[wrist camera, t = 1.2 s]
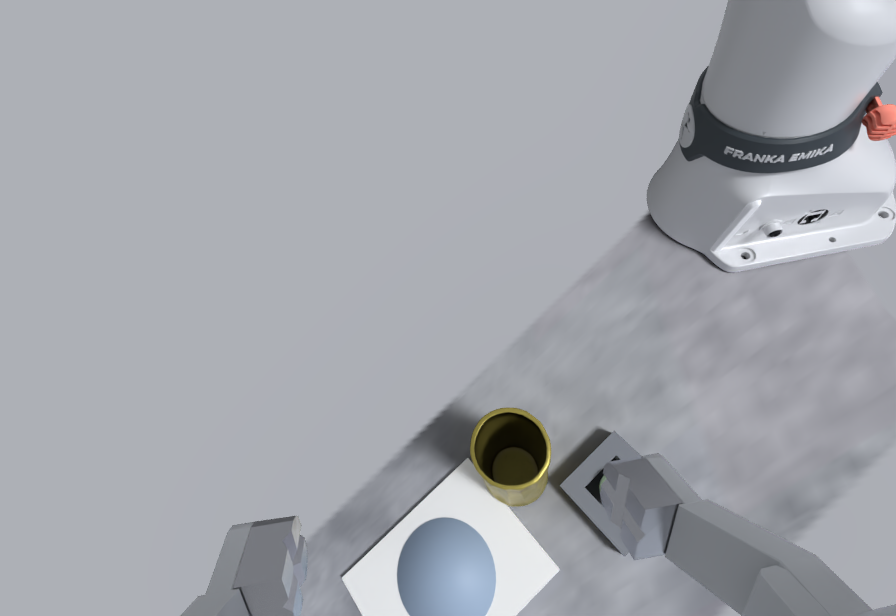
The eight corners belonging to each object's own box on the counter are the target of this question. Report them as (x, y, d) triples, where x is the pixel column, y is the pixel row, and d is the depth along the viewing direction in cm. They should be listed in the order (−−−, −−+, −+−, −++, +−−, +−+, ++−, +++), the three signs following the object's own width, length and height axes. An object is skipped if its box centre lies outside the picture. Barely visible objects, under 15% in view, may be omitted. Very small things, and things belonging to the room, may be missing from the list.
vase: (558, 493, 38) (575, 478, 25) (496, 516, 38) (481, 513, 25) (532, 429, 41) (534, 387, 28) (473, 450, 40) (450, 418, 28)
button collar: (611, 433, 39) (614, 430, 37) (677, 495, 36) (682, 494, 34) (559, 485, 38) (559, 485, 36) (621, 554, 35) (624, 556, 33)
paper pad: (468, 458, 41) (467, 457, 40) (560, 569, 35) (560, 569, 35) (343, 577, 39) (341, 578, 38) (420, 714, 33) (418, 717, 33)
